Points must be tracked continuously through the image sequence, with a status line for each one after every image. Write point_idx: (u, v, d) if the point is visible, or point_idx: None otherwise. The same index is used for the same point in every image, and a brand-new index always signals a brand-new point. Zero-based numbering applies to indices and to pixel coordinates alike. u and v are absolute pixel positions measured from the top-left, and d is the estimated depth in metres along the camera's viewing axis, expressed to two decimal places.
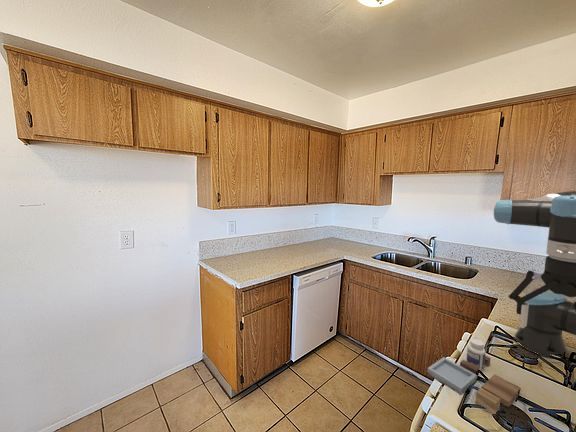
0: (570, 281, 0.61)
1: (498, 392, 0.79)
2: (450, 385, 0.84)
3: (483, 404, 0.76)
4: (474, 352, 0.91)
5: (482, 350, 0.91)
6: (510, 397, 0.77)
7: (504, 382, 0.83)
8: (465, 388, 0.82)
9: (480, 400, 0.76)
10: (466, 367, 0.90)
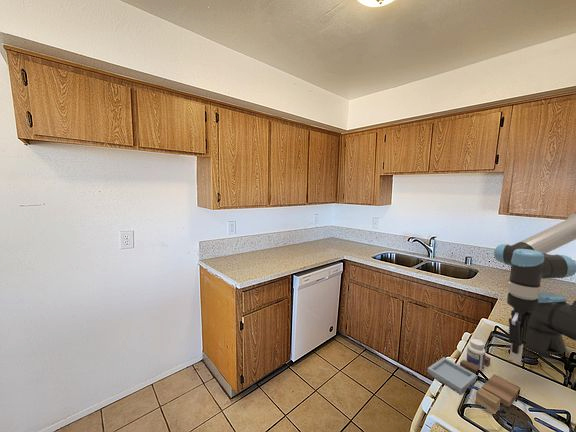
0: None
1: (498, 392, 0.79)
2: (450, 385, 0.84)
3: (483, 404, 0.76)
4: (474, 352, 0.91)
5: (482, 350, 0.91)
6: (510, 397, 0.77)
7: (504, 382, 0.83)
8: (465, 388, 0.82)
9: (480, 400, 0.76)
10: (466, 367, 0.90)
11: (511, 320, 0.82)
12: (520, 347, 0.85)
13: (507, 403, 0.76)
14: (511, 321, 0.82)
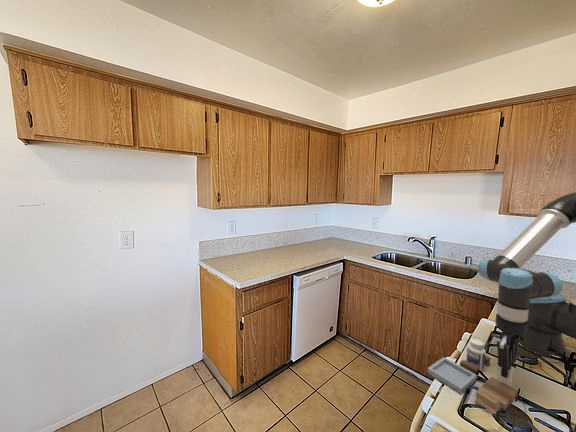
0: None
1: (495, 395, 0.78)
2: (450, 385, 0.84)
3: (483, 404, 0.76)
4: (474, 352, 0.91)
5: (482, 350, 0.91)
6: (507, 400, 0.76)
7: (501, 385, 0.82)
8: (465, 388, 0.82)
9: (480, 400, 0.76)
10: (466, 367, 0.90)
11: (499, 344, 0.78)
12: (509, 371, 0.81)
13: (503, 406, 0.75)
14: (499, 344, 0.78)
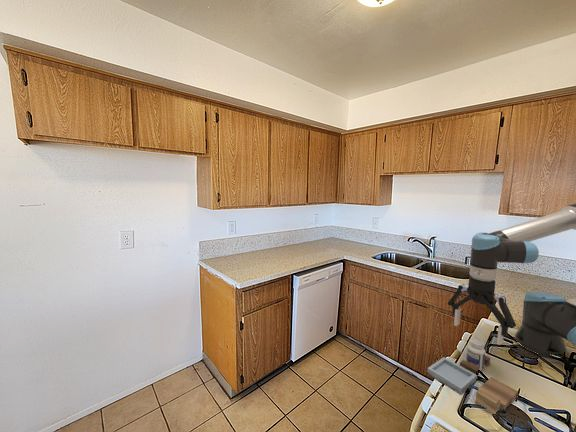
0: (482, 293, 0.89)
1: None
2: (450, 385, 0.84)
3: (483, 404, 0.76)
4: (474, 352, 0.91)
5: (482, 350, 0.91)
6: (506, 401, 0.76)
7: (501, 385, 0.82)
8: (465, 388, 0.82)
9: (480, 400, 0.76)
10: (466, 367, 0.90)
11: (502, 298, 0.84)
12: None
13: (502, 406, 0.75)
14: (502, 299, 0.84)
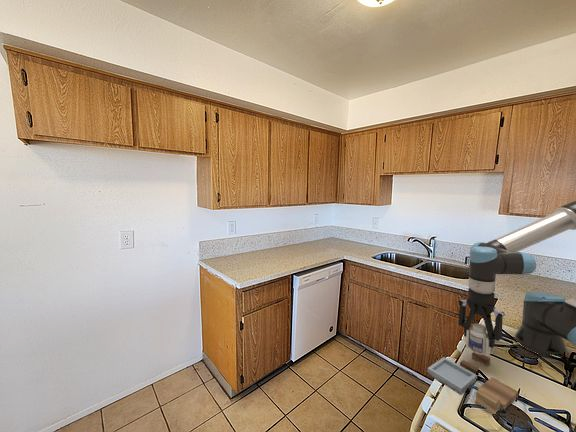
0: (483, 304, 0.89)
1: None
2: (450, 385, 0.84)
3: (483, 404, 0.76)
4: (476, 336, 0.90)
5: (485, 334, 0.90)
6: (506, 401, 0.76)
7: (501, 385, 0.82)
8: (465, 388, 0.82)
9: (480, 400, 0.76)
10: (466, 367, 0.90)
11: (502, 314, 0.85)
12: None
13: (502, 406, 0.75)
14: (501, 315, 0.85)
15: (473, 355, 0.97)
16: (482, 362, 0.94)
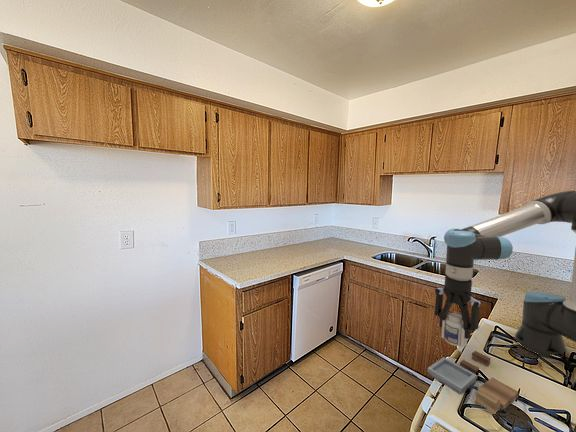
0: (460, 292, 0.83)
1: None
2: (450, 385, 0.84)
3: (483, 404, 0.76)
4: (452, 326, 0.84)
5: (461, 324, 0.84)
6: (506, 400, 0.76)
7: (501, 385, 0.82)
8: (465, 388, 0.82)
9: (480, 400, 0.76)
10: (466, 367, 0.90)
11: (478, 303, 0.79)
12: None
13: (502, 406, 0.75)
14: (478, 303, 0.79)
15: (473, 355, 0.97)
16: (482, 362, 0.94)
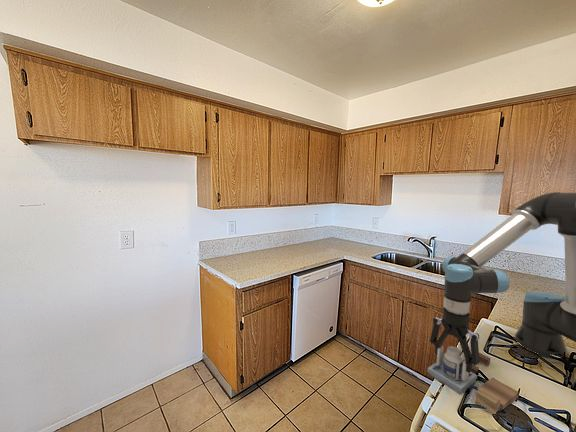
0: (457, 325, 0.84)
1: None
2: (450, 385, 0.84)
3: (483, 404, 0.76)
4: (450, 360, 0.86)
5: (459, 358, 0.86)
6: (505, 400, 0.76)
7: (501, 385, 0.82)
8: (465, 388, 0.82)
9: (480, 400, 0.76)
10: None
11: (476, 336, 0.80)
12: None
13: (501, 406, 0.75)
14: (476, 337, 0.80)
15: None
16: (482, 362, 0.94)
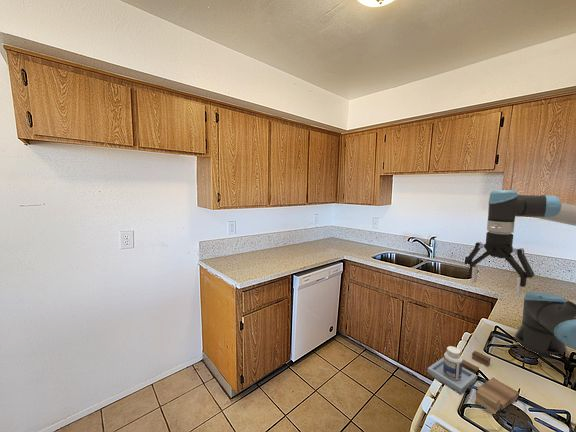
0: (500, 247, 0.91)
1: None
2: (450, 385, 0.84)
3: (483, 404, 0.76)
4: (450, 360, 0.86)
5: (459, 358, 0.86)
6: (505, 400, 0.76)
7: (502, 386, 0.82)
8: (465, 388, 0.82)
9: (480, 400, 0.76)
10: (466, 367, 0.90)
11: (521, 249, 0.86)
12: None
13: (501, 406, 0.75)
14: (521, 250, 0.86)
15: (473, 355, 0.97)
16: (482, 362, 0.94)
